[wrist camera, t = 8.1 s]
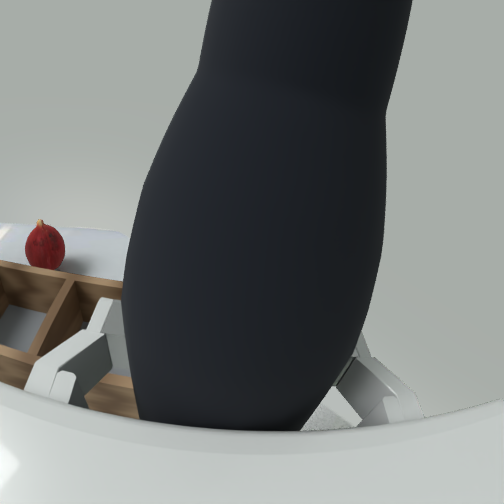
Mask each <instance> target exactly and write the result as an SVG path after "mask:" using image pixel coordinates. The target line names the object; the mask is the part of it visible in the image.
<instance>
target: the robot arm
mask: <svg viewBox="0 0 504 504" xmlns="http://www.w3.org/2000/svg"><path fill="white" fill-rule="evenodd" d="M112 367H114V368H120V369H127V370H130V367H129V361H128V354H127V347H126V340H125V333H124V325H123V316H122V307H121V300H116V299H115V300H114V299H109V298H104V297H101V298H100V299H99V301H98V303H97V306H96V308H95V310H94V313H93V315H92V317H91V320H90V322H89V325H88V327H87V329H86V330H84V329H82V330H81V331H79V332H78V333H76V334H75V335H73V336H72V337H71V338H69V339H68V340H66V341H65V342H63V343H62V344H60V345H59V346H57V347H56V348H55V349H53V350H52V351H50V352H49V353H47V354H46V355H44V356H43V357H42V358H40V359H39V360H37V361H36V362H35V364H34V366H33V369H32V371H31V373H30V376H29V378H28V381H27V383H26V385H25V388H24V390H22V389H19V388H16V387H13V386H11V385H8V384H5V383H3V382H0V504H504V400H502V399H498V400H494V401H491V402H487V403H484V404H481V405H477V406H473V407H469V408H466V409H462V410H457V411H454V412H449V413H445V414H440V415H436V416H430V417H424V414H423V412H422V409H421V406H420V404H419V401H418V399H417V396H416V394H415V392H414V391H413V390H412V389H410V388H409V387H408V386H407V385H406V384H405V383H403V382H402V381H401V380H400V379H399V378H398V377H397V376H396V375H394V374H393V373H392V372H391V371H390V370H389V369H387V368H386V367H385V366H384V365H383V364H382V363H381V362H379V361H378V360H377V359H376V358H375V357H371V354H370V352H369V349H368V347H367V344H366V341H365V339H364V336H363V334H362V331H361V333H360V336H359V339H358V342H357V344H356V347H355V350H354V353H353V354H352V356H351V358H350V359H349V361H348V362H347V364H346V365H345V367H344V368H343V370H342V372H341V373H340V375H339V376H338V378H337V379H336V381H335V382H334V384H333V385H332V386H336V388H337V389H338V390H339V392H340V393H341V394H342V395H343V397H344V398H345V399H346V400H347V401H348V403H349V404H350V405H351V406H352V407H353V409H354V410H355V411H356V412H357V413H358V415H359V416H360V417H361V418H362V419H363V420H362V422H360V423H359V424H358V426H357V427H356V428H344V429H331V430H313V431H244V430H225V429H211V428H200V427H190V426H181V425H173V424H165V423H158V422H152V421H145V420H139V419H134V418H128V417H123V416H118V415H113V414H108V413H103V412H99V411H95V410H90V409H89V406H88V404H87V402H86V400H85V397H84V396H85V395H86V394H87V393H88V392H89V391H90V390H91V389H92V388H93V387H94V386H95V385H96V384H97V383H98V382H99V381H100V380H101V379H102V378H103V377H104V376H105V375H106V374H107V373H108V372H109V371H110V370H111V369H112Z"/></svg>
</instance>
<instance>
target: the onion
mask: <svg viewBox="0 0 504 504" xmlns="http://www.w3.org/2000/svg"><path fill="white" fill-rule="evenodd" d="M25 254H26V257H27V259H28V261H29V263H30V265H31V266H33V267H39V268H44V269H49V270H55V269H56V268H58V267H59V266H60V264H61V263H62V261H63V259H64V256H65V244H64V240H63V238H62V236H61V235H60V234H59V232H58V231H57V230H56V229H55V228H53V227H51V226H49V225H45V224H44V223H43V220H41V219H39V220H38V221H37V226H36V228H35V229H34V230H33V231H32V232H31V233H30V234H29V236H28V238H27V241H26V245H25Z"/></svg>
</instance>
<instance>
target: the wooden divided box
mask: <svg viewBox="0 0 504 504" xmlns="http://www.w3.org/2000/svg"><path fill="white" fill-rule="evenodd" d="M122 287H123V282H122V281H115V280H109V279H102V278H96V277H90V276H84V275H78V274H72V273H66V272H61V271H55V270H49V269H44V268H39V267H33V266H28V265H23V264H18V263H12V262H7V261H3V260H0V319H1V317H2V315H3V314H4V312H5V310H6V309H7V307H8V306H9V304H10V305H14V306H18V307H22V308H26V309H30V310H34V311H38V312H42V313H47V314H46V316H45V318H44V320H43V322H42V324H41V326H40V328H39V330H38V332H37V334H36V336H35V338H34V340H33V342H32V344H31V346H30V348H29V350H28V352H27V353H26V352H23V351H19V350H16V349H13V348H10V347H7V346H4V345H1V344H0V382H3V383H5V384H8V385H11V386H13V387H16V388H19V389H22V390H24V388H25V385H26V383H27V381H28V378H29V376H30V373H31V371H32V369H33V366H34V364H35V362H36V361H37V360H39V359H40V358H42V357H43V356H44V355H46V354H47V353H49V352H50V351H52V350H53V349H55V348H56V347H57V346H59V345H60V344H62V343H63V342H65V341H66V340H68V339H69V338H71V337H72V336H73V335H75V334H76V333H78V332H79V330H80V328H81V326H82V323H83V321H84V322H90V320H91V317H92V315H93V313H94V310H95V308H96V306H97V303H98V301H99V299H100V298H101V297H104V298H109V299H114V300H115V299H116V300H121V295H122ZM84 397H85V400H86V402H87V404H88V406H89V409H90V410H95V411H99V412H103V413H108V414H113V415H118V416H123V417H128V418H134V419H139V415H138V410H137V405H136V400H135V395H134V390H133V384H132V379H131V377H127V376H122V375H116V374H111V373H107V374H106V375H105V376H104V377H103V378H102V379H101V380H100V381H99V382H98V383H97V384H96V385H95V386H94V387H93V388H92V389H91V390H90V391H89V392H88V393H87V394H86V395H85V396H84ZM139 420H140V419H139Z"/></svg>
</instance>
